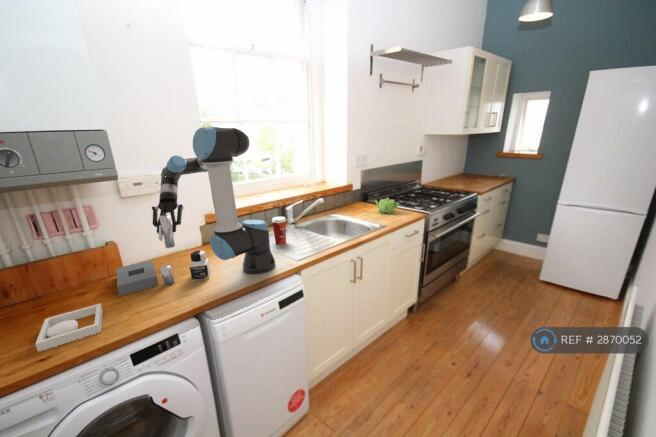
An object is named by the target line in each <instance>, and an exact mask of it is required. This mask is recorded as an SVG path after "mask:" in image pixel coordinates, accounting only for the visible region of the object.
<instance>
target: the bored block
mask: <svg viewBox="0 0 656 437" xmlns="http://www.w3.org/2000/svg"><path fill="white" fill-rule="evenodd" d="M116 286H117V292H118V295H119V296H120V297H121V296H124V295H128V294H132V293H135V292H139V291H143V290H146V289H150V288H155V287H157V286H159V281H158V277H157V273H156V269H155V266H154V262H153V259H151V260H148V261H144V262H143V261H142V262H139V263H138V262H137V263H135V264H129V265H126V266H121V267H117V268H116Z"/></svg>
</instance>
